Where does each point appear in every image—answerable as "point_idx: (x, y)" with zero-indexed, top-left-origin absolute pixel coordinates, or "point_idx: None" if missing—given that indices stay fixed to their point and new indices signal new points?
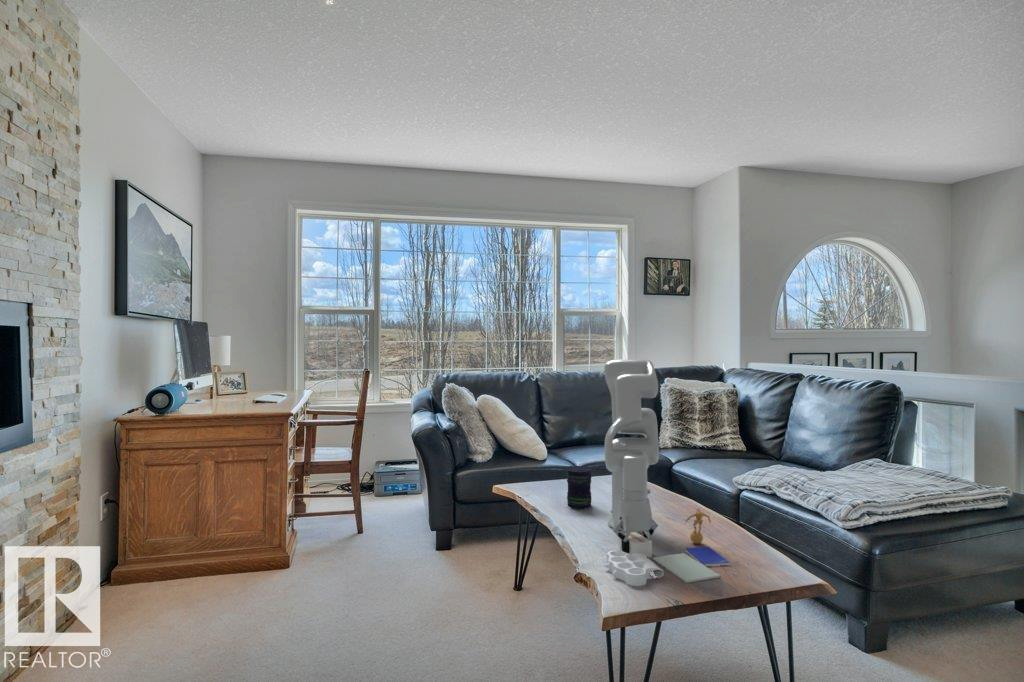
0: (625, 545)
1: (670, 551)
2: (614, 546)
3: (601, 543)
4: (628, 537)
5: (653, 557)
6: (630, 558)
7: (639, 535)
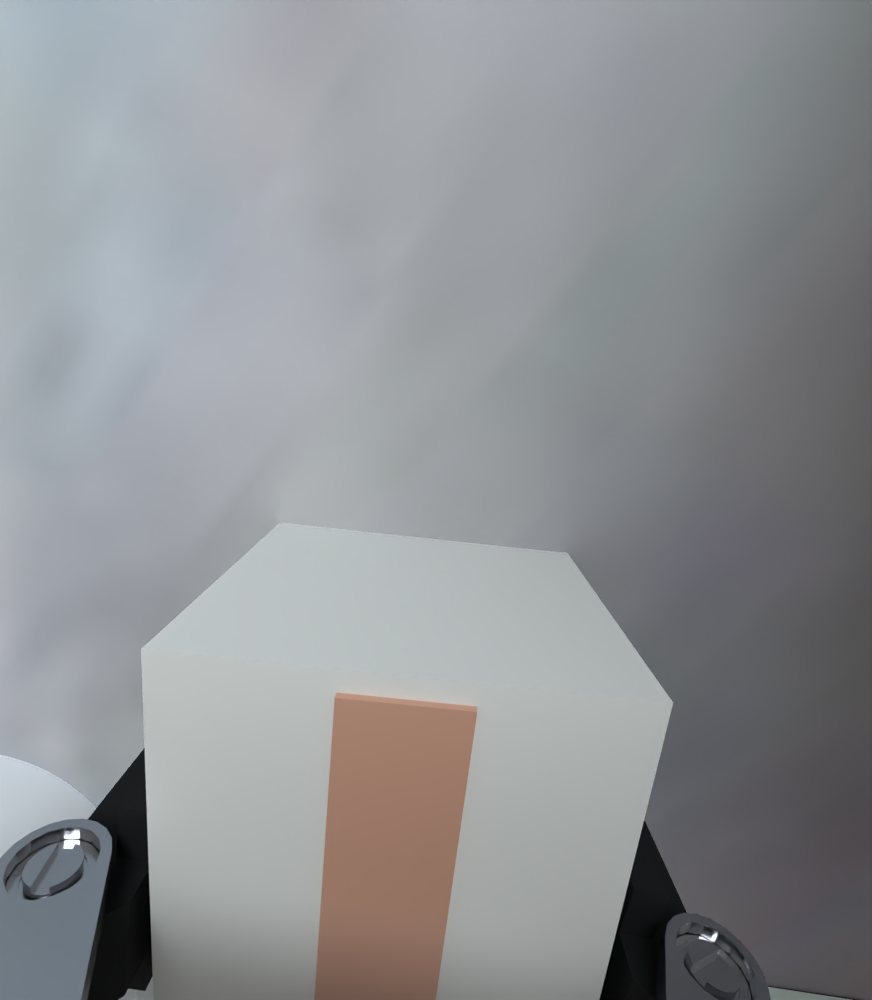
0: None
1: (843, 874)
2: (290, 375)
3: (154, 129)
4: (230, 914)
5: None
6: None
7: (556, 935)
